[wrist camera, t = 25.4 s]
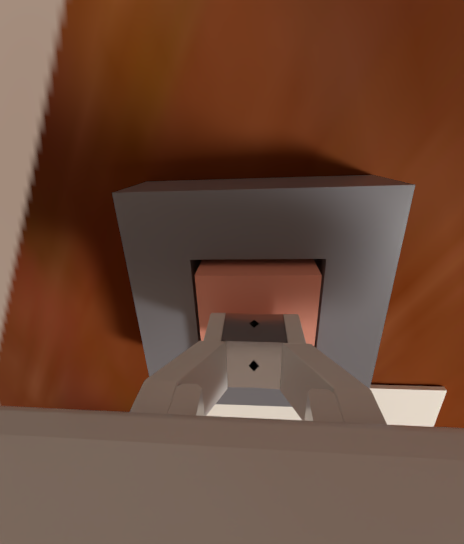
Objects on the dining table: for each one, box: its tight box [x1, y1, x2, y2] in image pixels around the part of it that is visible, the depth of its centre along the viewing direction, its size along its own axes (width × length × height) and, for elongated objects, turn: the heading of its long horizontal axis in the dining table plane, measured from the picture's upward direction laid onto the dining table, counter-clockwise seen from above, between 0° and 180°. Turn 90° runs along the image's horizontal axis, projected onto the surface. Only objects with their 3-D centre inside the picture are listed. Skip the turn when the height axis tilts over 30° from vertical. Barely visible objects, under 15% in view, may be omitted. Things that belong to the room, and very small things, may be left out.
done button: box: [195, 259, 322, 346], centre depth 12 cm, size 4×4×3 cm
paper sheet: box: [206, 385, 447, 427], centre depth 21 cm, size 20×16×1 cm
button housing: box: [112, 175, 415, 407], centre depth 13 cm, size 10×10×4 cm
